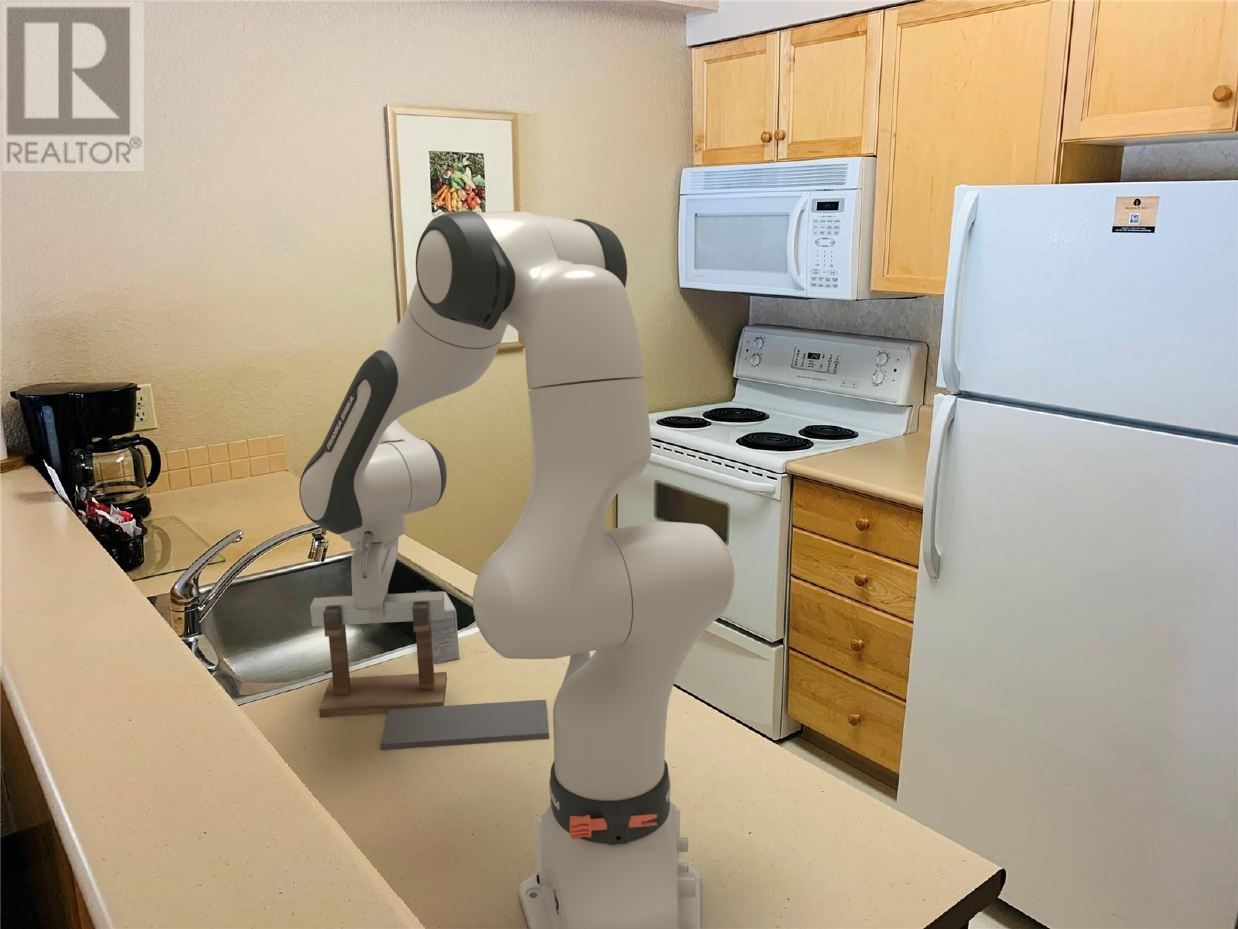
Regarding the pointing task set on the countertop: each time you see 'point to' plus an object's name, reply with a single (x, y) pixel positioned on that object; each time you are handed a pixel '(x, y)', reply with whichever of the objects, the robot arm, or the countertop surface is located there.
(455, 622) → the medicine box
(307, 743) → the countertop surface
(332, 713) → the rail stand
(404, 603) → the steel rail
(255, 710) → the countertop surface
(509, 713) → the rubber mat
